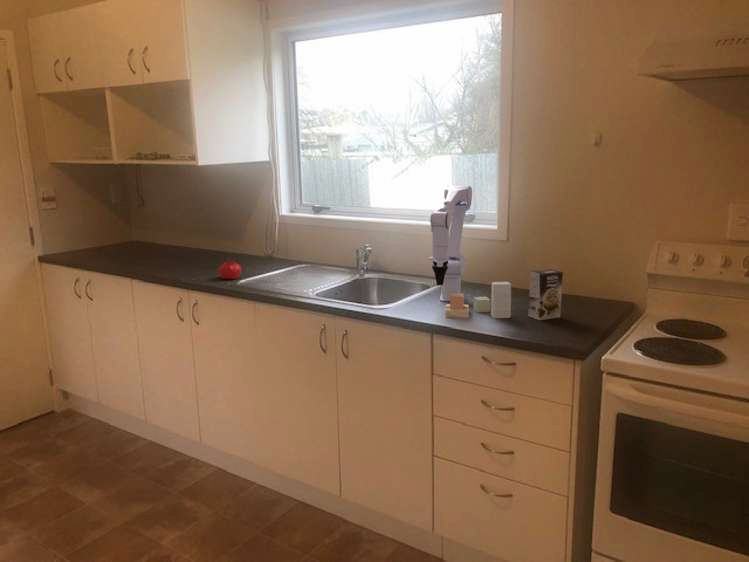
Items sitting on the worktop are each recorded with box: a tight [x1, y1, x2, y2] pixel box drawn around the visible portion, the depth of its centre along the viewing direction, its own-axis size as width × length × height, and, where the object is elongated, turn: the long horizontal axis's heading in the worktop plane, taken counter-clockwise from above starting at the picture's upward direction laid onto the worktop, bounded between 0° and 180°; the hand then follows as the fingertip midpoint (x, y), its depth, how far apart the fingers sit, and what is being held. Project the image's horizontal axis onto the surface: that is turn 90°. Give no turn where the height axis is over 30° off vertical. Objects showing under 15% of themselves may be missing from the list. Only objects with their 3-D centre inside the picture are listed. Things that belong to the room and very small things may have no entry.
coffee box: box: [527, 268, 564, 321], centre depth 212 cm, size 9×6×16 cm
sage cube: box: [473, 296, 491, 313], centre depth 222 cm, size 4×4×4 cm
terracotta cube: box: [449, 292, 465, 309], centre depth 217 cm, size 4×4×4 cm
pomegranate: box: [218, 257, 242, 280], centre depth 279 cm, size 10×10×9 cm
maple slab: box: [444, 303, 470, 319], centre depth 218 cm, size 8×8×3 cm
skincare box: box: [490, 281, 512, 319], centre depth 213 cm, size 6×4×12 cm
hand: (440, 282), depth 222 cm, fingers open, 7 cm apart
